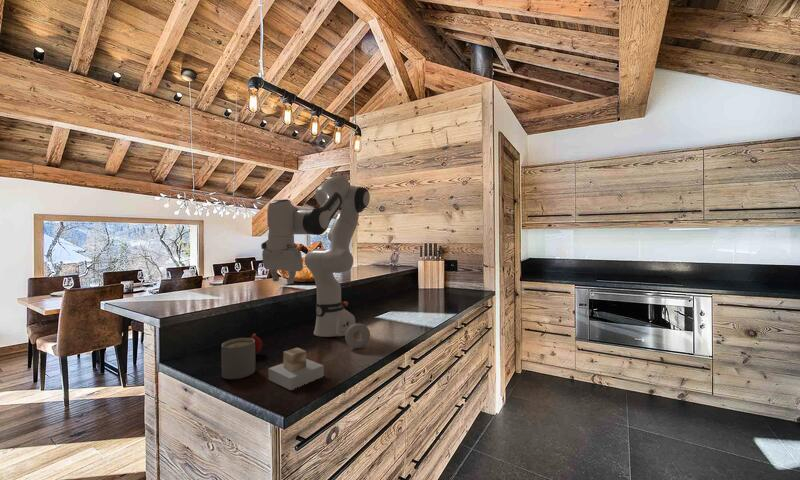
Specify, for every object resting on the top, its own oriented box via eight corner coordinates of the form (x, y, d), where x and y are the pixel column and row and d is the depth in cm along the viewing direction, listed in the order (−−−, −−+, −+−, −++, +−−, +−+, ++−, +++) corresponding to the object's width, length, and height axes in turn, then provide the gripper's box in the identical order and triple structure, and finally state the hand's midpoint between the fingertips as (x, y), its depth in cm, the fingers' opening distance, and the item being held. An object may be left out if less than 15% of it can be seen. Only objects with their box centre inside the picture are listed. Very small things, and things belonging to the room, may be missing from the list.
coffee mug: (252, 377, 103) (252, 345, 103) (217, 381, 101) (217, 348, 101) (259, 361, 116) (259, 333, 116) (228, 364, 114) (228, 336, 114)
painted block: (301, 368, 111) (301, 356, 111) (323, 377, 104) (323, 365, 104) (268, 381, 102) (268, 368, 102) (290, 392, 94) (290, 378, 94)
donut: (345, 350, 126) (345, 325, 126) (344, 347, 130) (344, 323, 130) (370, 348, 129) (370, 323, 129) (369, 345, 132) (369, 321, 132)
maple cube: (297, 362, 106) (297, 347, 106) (306, 366, 102) (306, 351, 102) (283, 367, 102) (283, 351, 102) (291, 371, 99) (291, 355, 99)
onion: (256, 358, 119) (255, 336, 119) (242, 357, 120) (241, 336, 120) (265, 353, 125) (265, 332, 125) (252, 352, 126) (252, 331, 126)
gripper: (306, 244, 113) (308, 283, 114) (274, 243, 126) (275, 278, 126) (290, 245, 108) (292, 286, 109) (258, 244, 121) (260, 281, 121)
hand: (283, 282), depth 118 cm, fingers open, 8 cm apart
